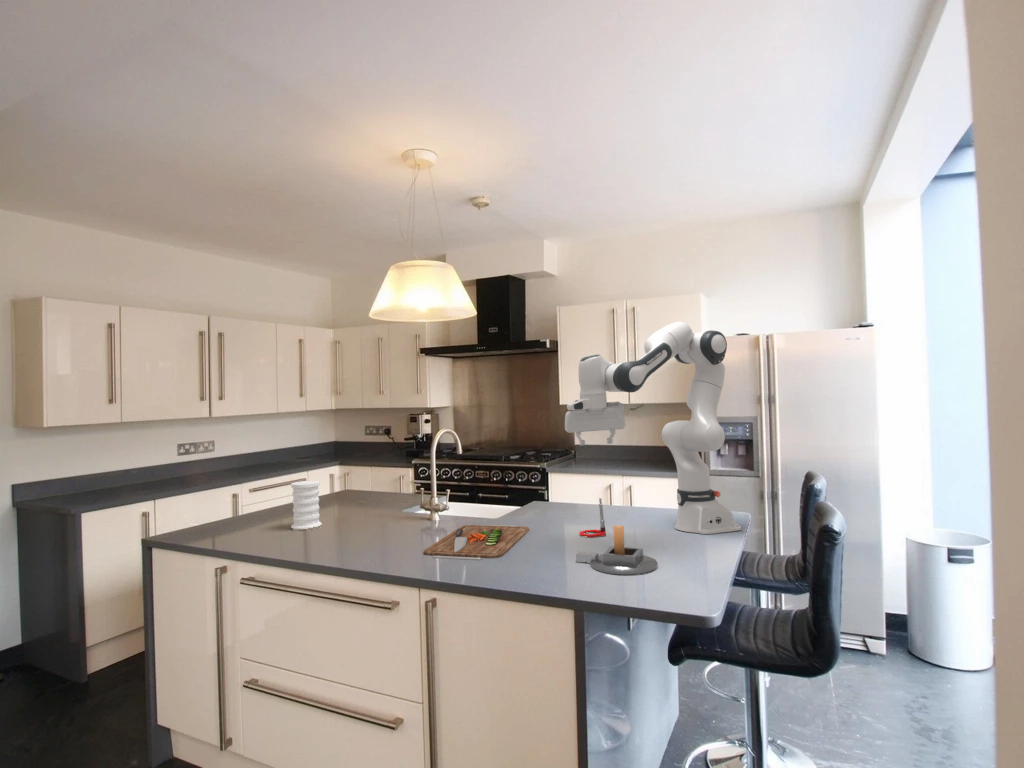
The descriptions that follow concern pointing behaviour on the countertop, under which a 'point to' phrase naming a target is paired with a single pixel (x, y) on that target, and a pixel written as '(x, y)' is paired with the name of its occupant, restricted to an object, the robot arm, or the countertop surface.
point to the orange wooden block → (619, 540)
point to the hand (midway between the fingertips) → (596, 444)
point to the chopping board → (477, 542)
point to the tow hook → (602, 529)
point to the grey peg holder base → (619, 561)
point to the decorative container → (305, 504)
